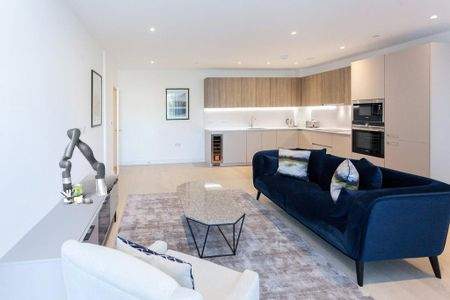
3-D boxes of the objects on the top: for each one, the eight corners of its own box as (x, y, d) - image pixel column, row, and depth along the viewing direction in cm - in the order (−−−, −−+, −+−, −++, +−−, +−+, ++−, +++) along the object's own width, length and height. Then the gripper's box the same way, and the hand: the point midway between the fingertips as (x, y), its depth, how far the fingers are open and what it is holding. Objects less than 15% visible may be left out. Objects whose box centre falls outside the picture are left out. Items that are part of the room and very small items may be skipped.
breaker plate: (86, 200, 342) (86, 197, 342) (92, 201, 334) (91, 199, 334) (72, 203, 332) (72, 201, 332) (77, 205, 324) (77, 202, 324)
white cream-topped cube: (80, 201, 330) (80, 198, 329) (82, 201, 328) (81, 198, 328) (77, 201, 328) (77, 198, 327) (78, 202, 326) (78, 199, 325)
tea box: (73, 202, 335) (72, 187, 333) (64, 202, 337) (62, 187, 336) (83, 198, 350) (81, 183, 348) (74, 198, 352) (72, 183, 350)
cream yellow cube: (77, 200, 335) (77, 196, 334) (78, 200, 333) (78, 197, 332) (74, 200, 333) (74, 197, 332) (75, 201, 331) (75, 198, 330)
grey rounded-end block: (89, 202, 332) (89, 197, 331) (92, 203, 328) (91, 198, 328) (84, 203, 328) (84, 198, 328) (86, 204, 325) (86, 199, 324)
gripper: (72, 180, 333) (74, 198, 335) (57, 183, 324) (59, 201, 326) (75, 181, 328) (77, 200, 330) (61, 184, 318) (63, 203, 320)
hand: (68, 200), depth 328 cm, fingers closed
